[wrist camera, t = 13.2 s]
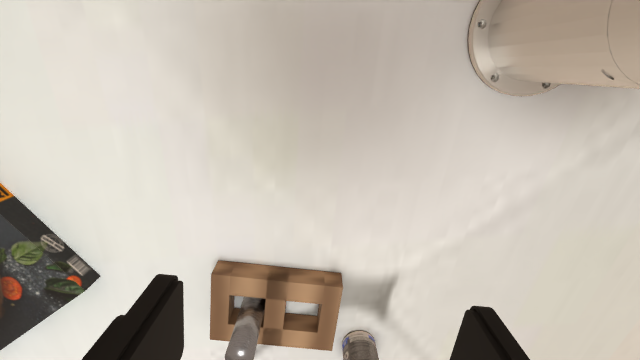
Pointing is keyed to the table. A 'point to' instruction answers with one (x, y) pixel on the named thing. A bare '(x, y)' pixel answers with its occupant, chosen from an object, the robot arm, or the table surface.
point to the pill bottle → (359, 346)
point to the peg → (246, 330)
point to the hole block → (277, 303)
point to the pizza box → (34, 270)
